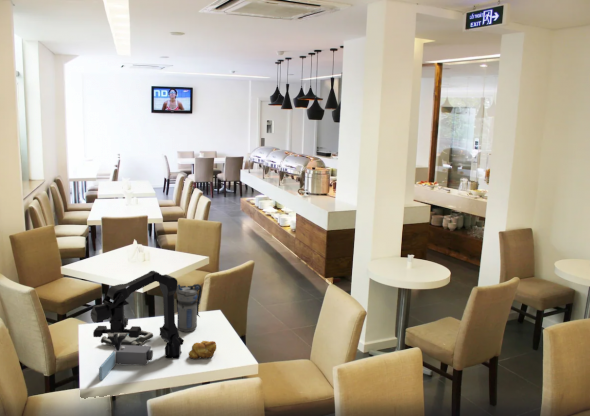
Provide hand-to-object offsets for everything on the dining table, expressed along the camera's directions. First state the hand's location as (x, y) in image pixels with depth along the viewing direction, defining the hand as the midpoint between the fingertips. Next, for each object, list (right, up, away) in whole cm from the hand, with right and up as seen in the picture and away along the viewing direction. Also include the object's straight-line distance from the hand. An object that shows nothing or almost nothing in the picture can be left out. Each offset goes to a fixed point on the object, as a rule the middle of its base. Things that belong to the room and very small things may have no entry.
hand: (118, 350), depth 215 cm
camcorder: (-6, -6, +33) cm, 34 cm away
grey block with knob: (+1, -9, +15) cm, 18 cm away
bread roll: (+32, -10, +23) cm, 40 cm away
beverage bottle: (+19, -4, +53) cm, 56 cm away
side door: (-6, -10, +4) cm, 13 cm away
